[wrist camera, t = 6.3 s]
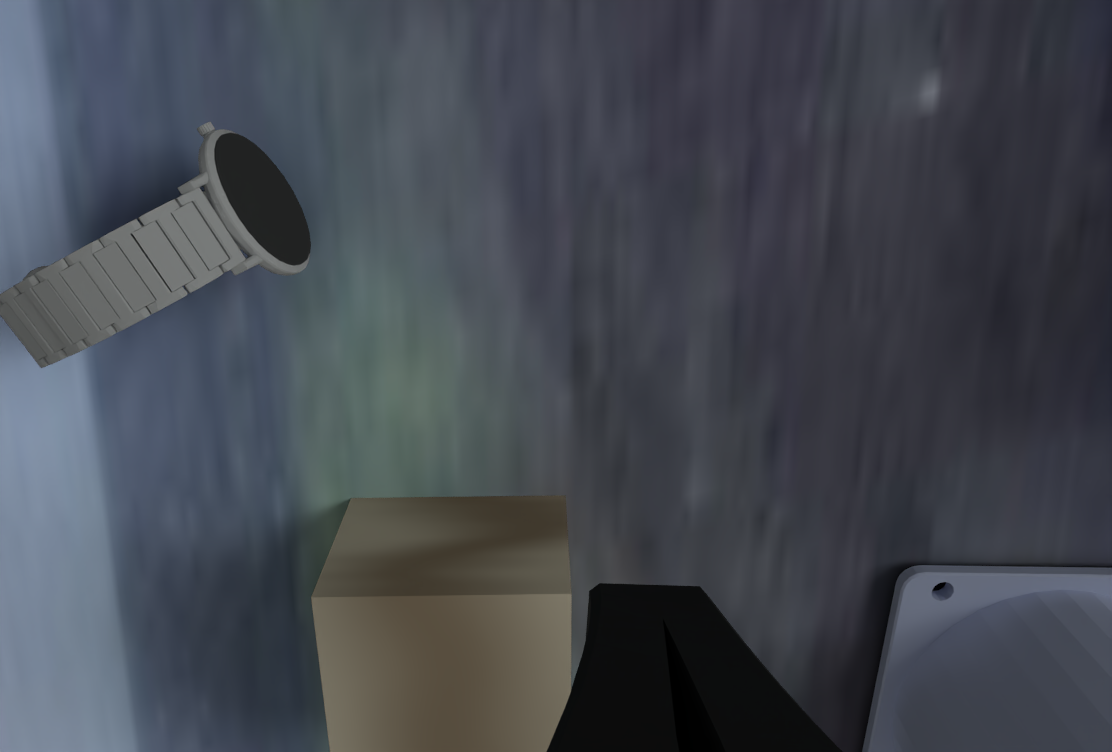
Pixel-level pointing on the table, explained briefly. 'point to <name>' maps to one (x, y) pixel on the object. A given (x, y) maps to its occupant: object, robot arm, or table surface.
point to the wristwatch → (164, 252)
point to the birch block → (446, 624)
